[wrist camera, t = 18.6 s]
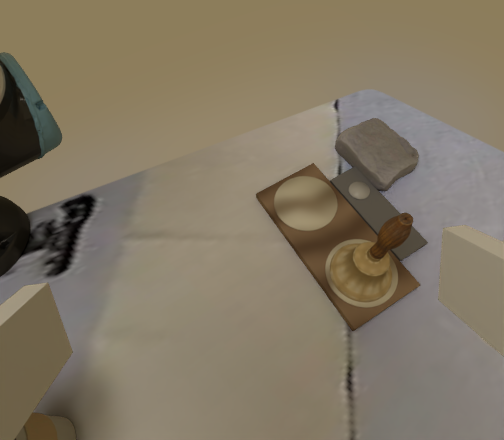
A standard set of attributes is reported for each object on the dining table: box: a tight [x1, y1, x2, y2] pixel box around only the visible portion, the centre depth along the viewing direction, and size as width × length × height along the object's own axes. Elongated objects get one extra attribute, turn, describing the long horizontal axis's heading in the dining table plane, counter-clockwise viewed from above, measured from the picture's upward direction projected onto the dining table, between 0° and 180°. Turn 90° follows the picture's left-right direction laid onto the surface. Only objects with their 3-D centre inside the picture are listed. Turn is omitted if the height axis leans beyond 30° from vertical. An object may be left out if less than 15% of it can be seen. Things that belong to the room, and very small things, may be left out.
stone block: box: [335, 118, 419, 191], centre depth 53 cm, size 12×5×10 cm
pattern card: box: [330, 167, 428, 261], centre depth 49 cm, size 16×5×1 cm, turn 31°
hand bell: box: [330, 213, 413, 302], centre depth 37 cm, size 8×8×16 cm
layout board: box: [256, 163, 420, 331], centre depth 47 cm, size 24×11×2 cm, turn 31°
